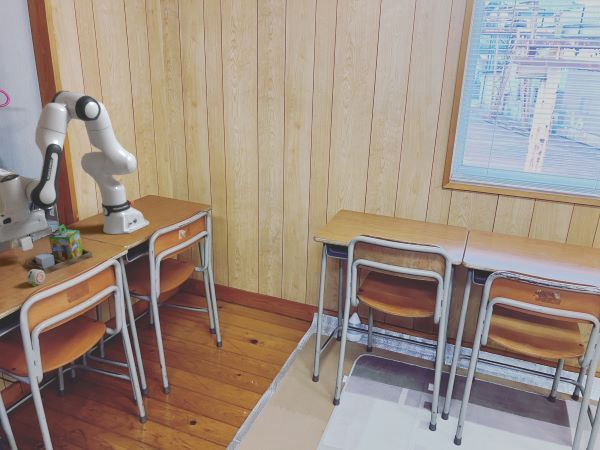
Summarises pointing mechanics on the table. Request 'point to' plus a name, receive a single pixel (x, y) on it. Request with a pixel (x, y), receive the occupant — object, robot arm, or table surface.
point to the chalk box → (66, 244)
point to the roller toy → (35, 277)
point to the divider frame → (60, 264)
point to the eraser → (25, 243)
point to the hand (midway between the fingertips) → (25, 244)
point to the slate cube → (45, 260)
